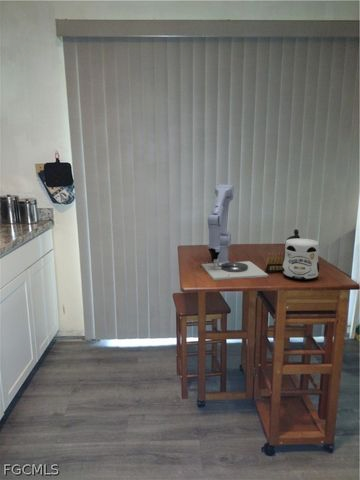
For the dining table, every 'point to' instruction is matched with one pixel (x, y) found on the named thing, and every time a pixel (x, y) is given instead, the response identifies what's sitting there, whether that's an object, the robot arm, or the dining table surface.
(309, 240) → the milk container
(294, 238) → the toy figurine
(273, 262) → the ammunition clip
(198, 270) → the dining table surface
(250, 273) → the dial plate
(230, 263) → the dial
